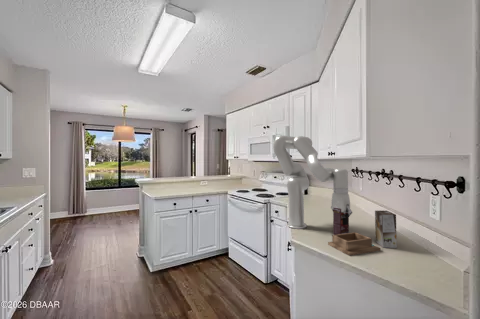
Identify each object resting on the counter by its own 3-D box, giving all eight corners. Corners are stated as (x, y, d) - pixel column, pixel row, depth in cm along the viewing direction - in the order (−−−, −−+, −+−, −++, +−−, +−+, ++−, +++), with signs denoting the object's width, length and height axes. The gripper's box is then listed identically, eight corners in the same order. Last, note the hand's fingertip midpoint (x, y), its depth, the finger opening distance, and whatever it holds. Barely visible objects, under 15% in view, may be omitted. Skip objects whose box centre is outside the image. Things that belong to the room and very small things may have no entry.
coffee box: (397, 248, 107) (397, 214, 107) (382, 247, 108) (382, 214, 108) (388, 241, 116) (387, 210, 116) (374, 240, 117) (374, 210, 117)
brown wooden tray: (328, 244, 113) (327, 234, 113) (356, 240, 118) (356, 230, 118) (349, 255, 100) (349, 243, 100) (380, 250, 105) (380, 239, 105)
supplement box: (341, 238, 122) (340, 208, 122) (332, 235, 126) (332, 207, 126) (349, 235, 127) (349, 206, 127) (341, 232, 131) (341, 205, 131)
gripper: (325, 189, 133) (325, 219, 133) (346, 193, 117) (347, 228, 117) (335, 188, 136) (335, 218, 136) (358, 192, 119) (358, 226, 119)
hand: (341, 222), depth 126 cm, fingers closed on supplement box, 5 cm apart
